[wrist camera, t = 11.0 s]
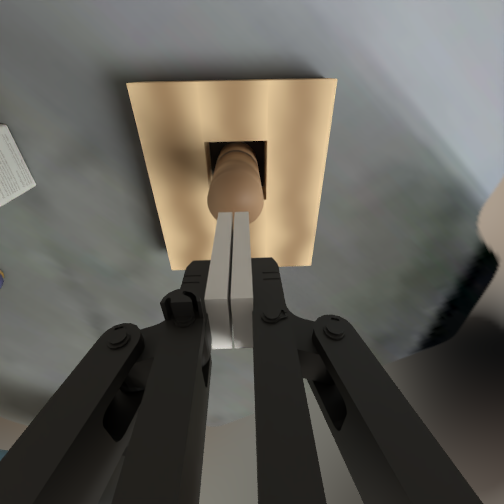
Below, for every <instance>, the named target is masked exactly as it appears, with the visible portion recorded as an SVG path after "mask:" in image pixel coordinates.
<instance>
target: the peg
mask: <svg viewBox="0 0 504 504" xmlns="http://www.w3.org/2000/svg"><path fill="white" fill-rule="evenodd" d="M207 204H208V208H209V211H210V213H211V214H212V216H213V217H214V218H215V219H216V220H217V218H218V213H220V212H232V214H233V227H234V215H235V212H249V224H250V223H252V222H254V221H255V220H256V219H257V218H258V217H259V215H260V214H261V212H262V209H263V206H264V197H263V192H262V186H261V180H260V175H259V169H258V164H257V158H256V154H255V152H254V151H253V149H252V148H251V147H250V146H249V145H247V144H246V143H243V142H239V141H234V142H230V143H228V144H226V145H225V146H224V147H223V148H222V149H221V151H220V153H219V155H218V159H217V163H216V166H215V170H214V174H213V177H212V181H211V185H210V188H209V192H208V196H207Z"/></svg>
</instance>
